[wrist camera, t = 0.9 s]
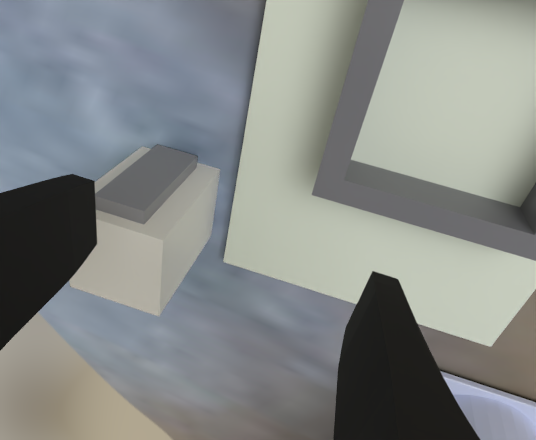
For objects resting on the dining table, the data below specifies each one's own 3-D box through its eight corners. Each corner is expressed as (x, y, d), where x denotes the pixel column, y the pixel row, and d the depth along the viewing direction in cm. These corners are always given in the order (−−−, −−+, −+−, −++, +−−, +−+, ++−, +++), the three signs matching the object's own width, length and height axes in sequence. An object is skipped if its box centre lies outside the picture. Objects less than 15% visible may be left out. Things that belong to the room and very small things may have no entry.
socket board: (488, 339, 21) (499, 380, 19) (226, 256, 22) (209, 286, 20) (763, -23, 12) (842, -19, 10) (290, -125, 13) (272, -140, 11)
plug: (211, 235, 22) (159, 316, 17) (141, 213, 22) (70, 286, 17) (221, 157, 19) (163, 226, 14) (142, 134, 20) (59, 193, 15)
